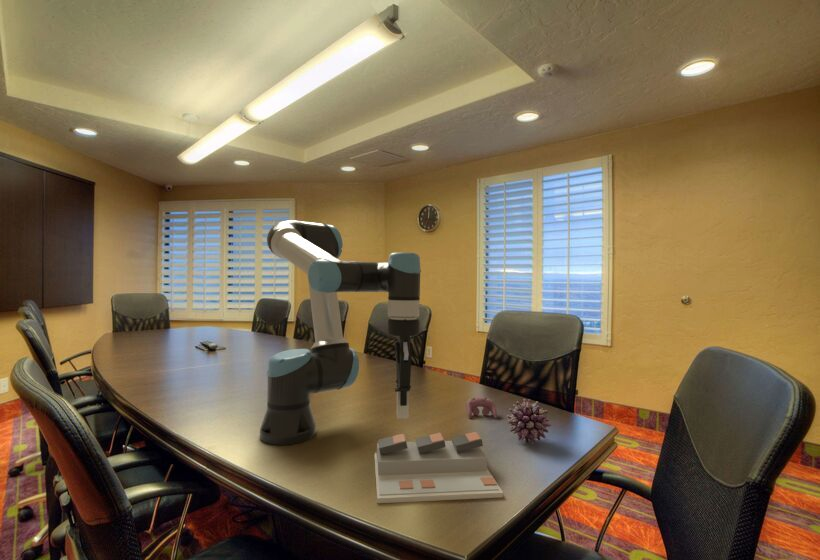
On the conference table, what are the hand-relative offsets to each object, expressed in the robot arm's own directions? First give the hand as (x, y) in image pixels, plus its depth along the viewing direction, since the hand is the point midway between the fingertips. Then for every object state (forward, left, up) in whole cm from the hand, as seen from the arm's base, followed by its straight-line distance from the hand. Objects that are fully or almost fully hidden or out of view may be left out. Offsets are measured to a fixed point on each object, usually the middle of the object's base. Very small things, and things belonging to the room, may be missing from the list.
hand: (402, 417), depth 91 cm
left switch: (-2, 0, -6) cm, 7 cm away
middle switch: (+7, 0, -6) cm, 9 cm away
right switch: (+16, 0, -6) cm, 17 cm away
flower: (+37, +12, -12) cm, 41 cm away
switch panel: (+7, -4, -12) cm, 14 cm away
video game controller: (+30, +33, -12) cm, 46 cm away
